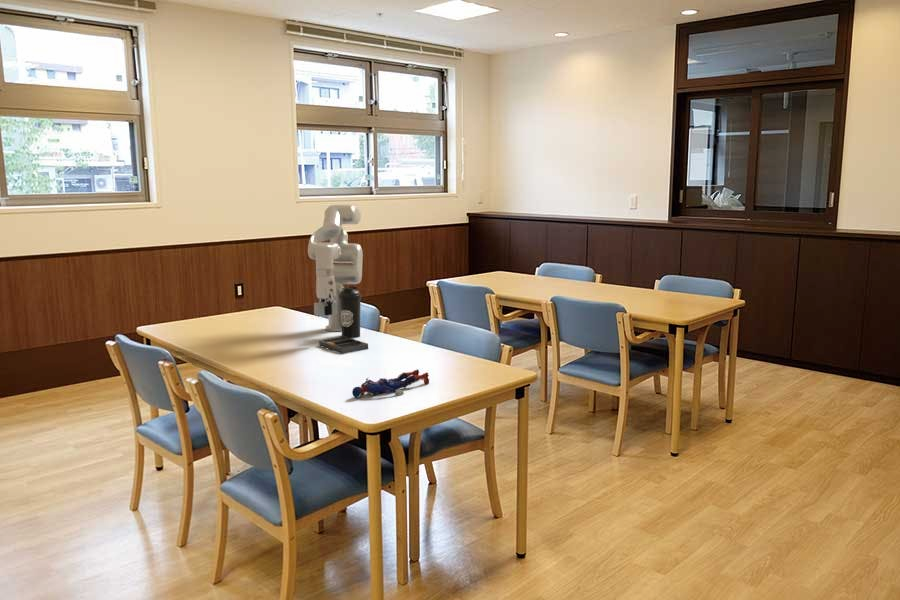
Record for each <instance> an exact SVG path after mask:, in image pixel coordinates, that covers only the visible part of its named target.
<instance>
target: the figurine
mask: <svg viewBox="0 0 900 600" xmlns="http://www.w3.org/2000/svg"><path fill="white" fill-rule="evenodd" d="M419 374H420V370H419V369H417V368H416V369H414V370H413V371H408V372H404V371H403V372H401V373H400V374H399V375H398V376H397V377H394V378H385V377H384V378H379V379H378V380H377V381H374V380H371V379H369V377H367V378H366V379H365V380H366V381H365V382H363V383H362V384H361V385H360V386H355V387H353V388H352V390H351V391H352V392H351V393H352V396H353V397H354V398H356V399H358V398H361V397H363V396H364V395H365V394H366V393H367V394H369V395H371V396H373V395H374V396H376V395H377V394H380V393H385V392H391V393H393V394H395V395H396V396H402V395H404V390H402V388H404V389H406V388H407V387H408V386H411V385H412V384H414V383H415V382H418V380H419V381H423V383H425V384H424V385H429V384H430V378H429V376H430V375H429V372H427V371H426V372H424V373H423V374H420V375H419ZM400 389H401V390H400ZM401 394H402V395H401Z"/></svg>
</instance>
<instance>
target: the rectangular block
mask: <svg viewBox="0 0 900 600" xmlns="http://www.w3.org/2000/svg"><path fill="white" fill-rule="evenodd" d="M325 306H326V305H325V302H319V301H318V302H313V314H314V316H315V317H325V316H326V315H325ZM333 314H337V302H336V301H334V302H333V303H332V315H333Z"/></svg>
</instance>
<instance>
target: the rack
mask: <svg viewBox="0 0 900 600" xmlns="http://www.w3.org/2000/svg"><path fill="white" fill-rule="evenodd" d="M319 345H320V346H319ZM318 346H319V347H321V346H323V347H322V348H324V347H325V348H324V349H327V348H328V349H327V350H329V351H333V352H336V353H338V352H339V354H341V353H342V355H344V354H349V352H350V353H353V352H360V351H365V350H368V349H369V343H367V342H365V341H360V340H358V339H355V338H348V337H345V336H342V335H341V336H337V337H331V338H326V339H321V340H318Z"/></svg>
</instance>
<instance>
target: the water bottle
mask: <svg viewBox="0 0 900 600" xmlns="http://www.w3.org/2000/svg"><path fill="white" fill-rule="evenodd" d="M339 300H340V313H341V330H342V331H341V337H342V336H345V337H348V338H351V339H355V338H356V339H357V338H359V337H361V300H362V294H361V292H360V291H359V290H358V286H353V285H351V286H348V287H344V288H342V291H341V292H340V294H339Z"/></svg>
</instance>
